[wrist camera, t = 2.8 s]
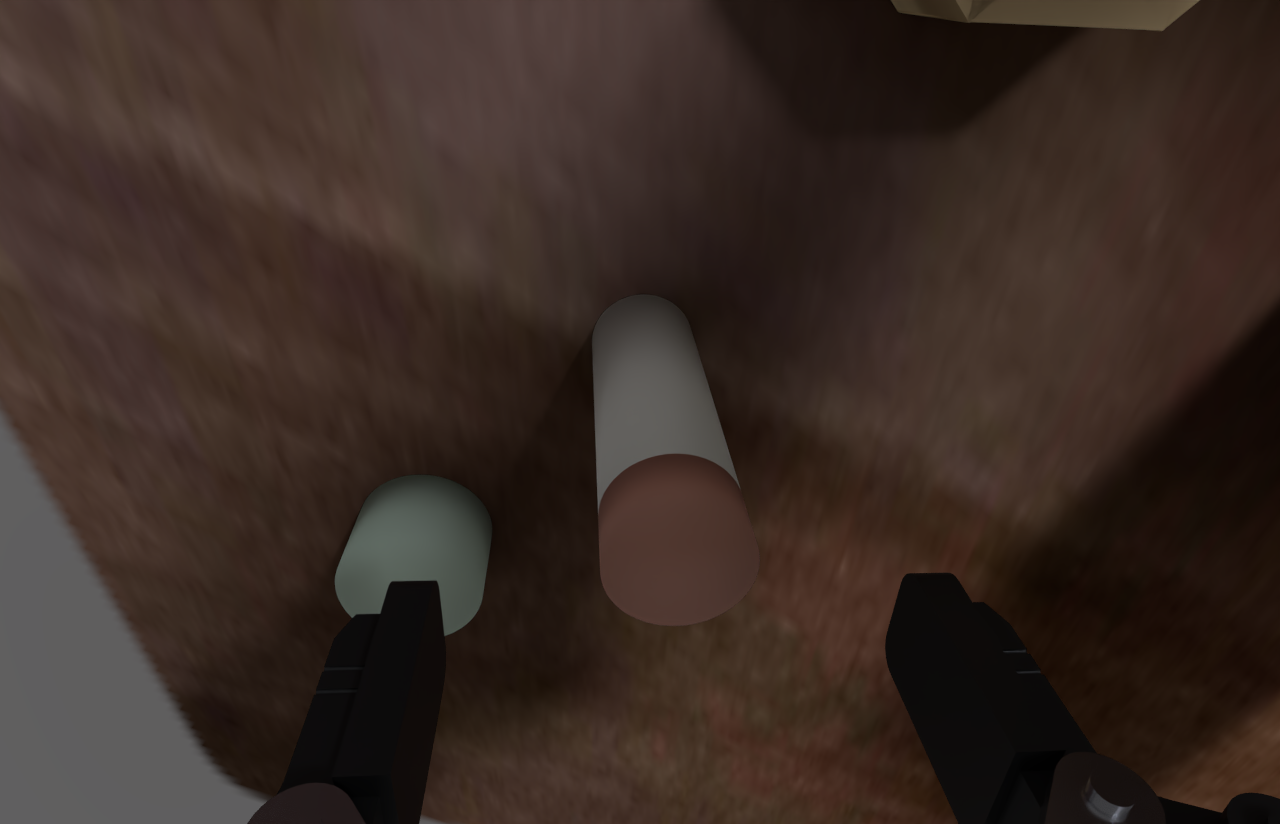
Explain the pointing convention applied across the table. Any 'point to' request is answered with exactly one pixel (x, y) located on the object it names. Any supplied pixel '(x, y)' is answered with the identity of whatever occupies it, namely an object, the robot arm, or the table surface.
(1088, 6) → the bead
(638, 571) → the grey cylinder
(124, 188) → the table surface
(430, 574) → the bead
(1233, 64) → the table surface
